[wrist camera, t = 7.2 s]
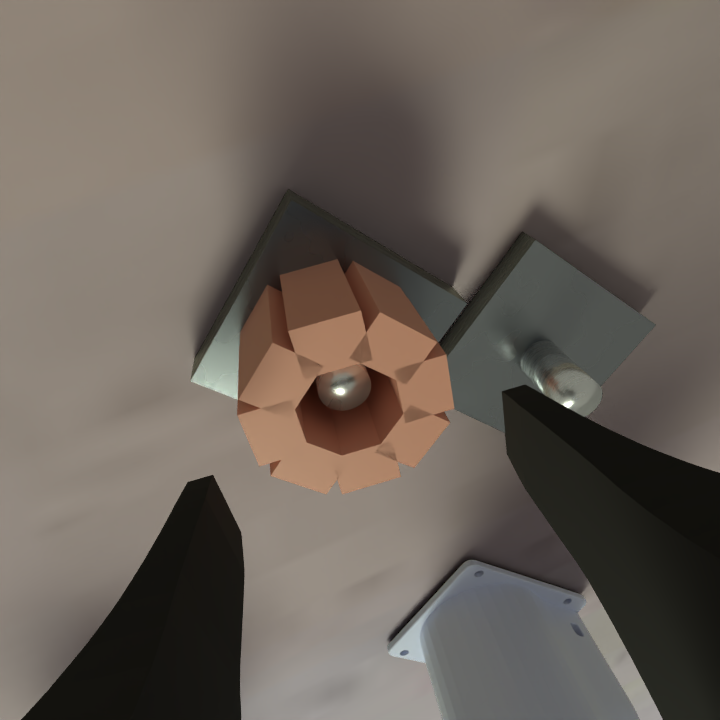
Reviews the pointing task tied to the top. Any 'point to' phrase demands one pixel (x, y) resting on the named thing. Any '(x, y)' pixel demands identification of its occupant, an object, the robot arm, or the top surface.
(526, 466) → the robot arm
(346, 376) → the square peg base
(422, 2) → the top surface
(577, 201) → the top surface
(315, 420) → the ring
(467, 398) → the stand
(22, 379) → the top surface
